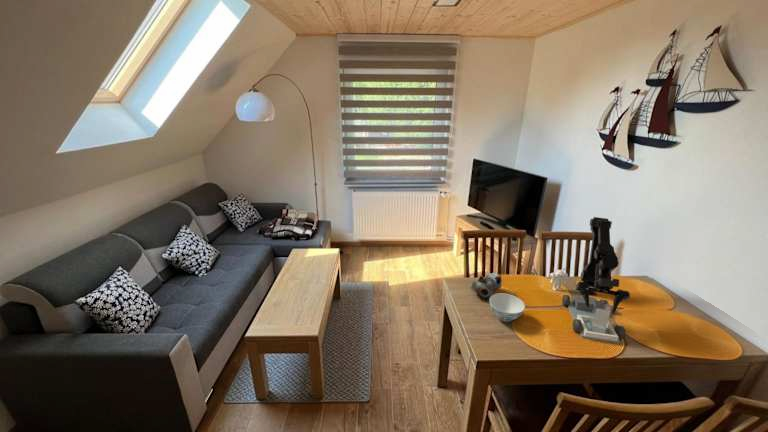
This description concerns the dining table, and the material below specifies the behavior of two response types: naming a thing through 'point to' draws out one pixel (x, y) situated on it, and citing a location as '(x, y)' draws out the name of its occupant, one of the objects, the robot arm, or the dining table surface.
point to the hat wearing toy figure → (558, 278)
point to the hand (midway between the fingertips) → (600, 310)
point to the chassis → (583, 316)
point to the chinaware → (506, 306)
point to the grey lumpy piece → (487, 285)
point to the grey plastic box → (599, 317)
